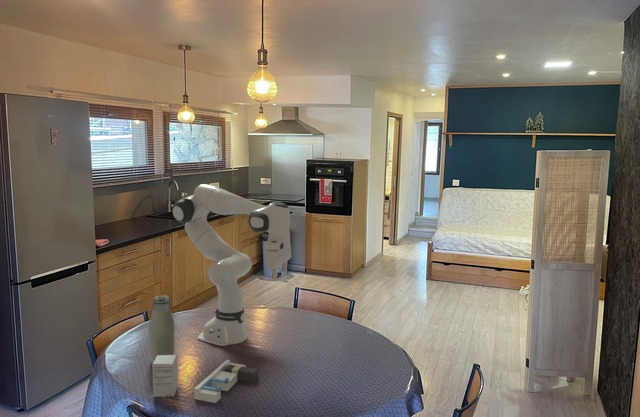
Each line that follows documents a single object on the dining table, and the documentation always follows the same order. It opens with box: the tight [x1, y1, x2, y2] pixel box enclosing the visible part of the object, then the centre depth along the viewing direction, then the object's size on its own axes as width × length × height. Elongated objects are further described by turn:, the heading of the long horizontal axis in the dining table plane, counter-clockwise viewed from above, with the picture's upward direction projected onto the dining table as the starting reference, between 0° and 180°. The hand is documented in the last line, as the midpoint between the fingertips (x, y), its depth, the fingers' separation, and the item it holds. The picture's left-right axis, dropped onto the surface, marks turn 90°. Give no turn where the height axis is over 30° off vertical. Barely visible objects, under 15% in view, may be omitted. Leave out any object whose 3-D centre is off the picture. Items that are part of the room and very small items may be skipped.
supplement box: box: [151, 354, 179, 398], centre depth 174 cm, size 7×7×13 cm
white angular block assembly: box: [193, 359, 247, 404], centre depth 180 cm, size 8×24×5 cm, turn 163°
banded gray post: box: [225, 365, 259, 384], centre depth 185 cm, size 12×4×4 cm, turn 73°
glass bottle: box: [148, 294, 175, 362], centre depth 198 cm, size 10×10×28 cm
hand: (279, 274), depth 199 cm, fingers open, 8 cm apart
